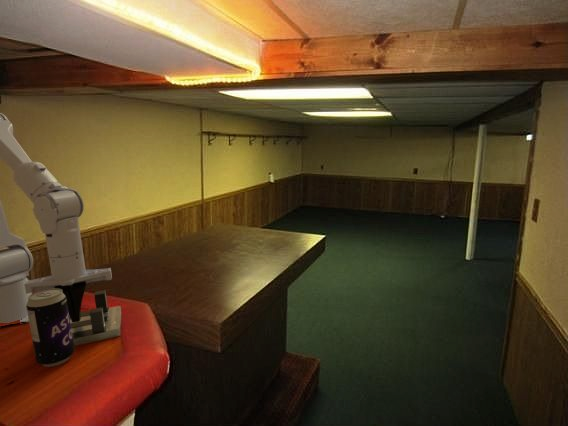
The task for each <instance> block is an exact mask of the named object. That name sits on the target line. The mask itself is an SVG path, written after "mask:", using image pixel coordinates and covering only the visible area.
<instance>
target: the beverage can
mask: <svg viewBox="0 0 568 426" xmlns="http://www.w3.org/2000/svg"><path fill="white" fill-rule="evenodd" d="M26 307H27V313H28V318H29V322H28V323H29V327H30V334H31V339H32V345H33V346H34V347H33V351H35V352H34V356H35V361H36V363H37V364H39V365H42V366H43V367H46V368H49V367H56V366H59V365H61V364H64V363H65V362H67V361H68V360H70V358H71V356H72V355H73V354H74V352H75V346H74V343H73V337H72V330H71V324H70V318H69V312H68V306H67V299H66V296H65V295H64V294H63V292H62V289H58V288H51V289H45V290H39V291H34V292H32V294H31V295H30V296H29V297H28V302H27V305H26Z"/></svg>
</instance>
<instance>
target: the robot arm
mask: <svg viewBox="0 0 568 426" xmlns="http://www.w3.org/2000/svg"><path fill="white" fill-rule="evenodd" d="M0 159H1V161H3V162H4V163H5V164H6V165H7V166H8V167H9V168H10V169H12V171H13V176H12V179H13V182H14V183H15V184H16V185H17V186H18V188H19V189H20V190H21V191H22V192H23V193H24V194H25V195H26V197H28V199H29V200H30V201H31V203H32V204H33V208H32V212H33V215H34V217H35V219H36V220H37V222H38V224H39V227H40V231H41V233H42V234H44V235H45V239H46V240H45V241H46V243H45V244H46V248H47V254H48V255H47V256H48V261H49V267H50V273H51V275H49V276H48V275H47V276H45V277H39V278H36V279H29V278H27V277H29V276H30V274H29V272H30V271H31V270H32V269H33V266H34V257H33V255H32V252H31V250H29V248H28V246H27V243H26V241H25V239H24V238H23V237H20V236H17V235H15V234H13V233H11V232H10V227H9V225H8V221H7V219H6V214H5V211H4V208H3V204H2V201H1V200H0V249H2V248H5V249H2V250H0V323H10V322H14V321H17V320H20V322H26V323H29V318H28V313H27V307H26V305H27V302H28V297H29V296H30V295H31V294H33V293H34V292H38V291H42V290H46V289H54V288H58V289H62V292H63V294H64V295H65V296H66V299H67V306H68V312H69V315H70V318H71V320H72V323H73V322H78V321H80V319H81V312H82V304H83V303H82V302H83V299H84V295H85V294H84V293H85V291H86V288H87V284H88V283H93V282H94V283H95V282H98V281H99V282H100V281H112V279H113V276H112V268H111V267H108V268H98V269H96V268H95V269H86V264H85V262H86V261H85V256H84V251H83V242H82V236H81V235H82V234H81V229H80V222H79V218H80V217H81V216H82V215H83V213H84V202H83V199H82V197H81V195H80V194H79V192H78V190H76V189H74V188H70V187H69V188H68V187H67V186H63V185H62V184H61V183H60V182H59V181H58V180H57V179H56V177H55V176H54V175H53V174H52V173H51V172H50V171H49V170H48V169H47V166H45V165H44V164H43V163H41V162H40V161H39V162H38V161H33V160H31V158H30V157H29V155H28V154H27V153H26V151H25V150H24V148H23V147H22V146H21V145H20V144H19V142H18V141H17V139H16V138H15V136H14V127H13V123H12V122H11V121H10V120H9V119H8V117H7V116H6V115H5V114H4V113H2V112H0ZM21 319H22V320H21Z"/></svg>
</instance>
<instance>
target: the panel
mask: <svg viewBox="0 0 568 426" xmlns="http://www.w3.org/2000/svg"><path fill="white" fill-rule="evenodd" d="M93 296H94V297H93V298H94V301H95V302H94V303H95V308H92V309H89V310H86V311H81V319H80V321H78V322H73V323H72V320H71V318H70V315H69V318H70V324H71V330H72V337H73V343H74V347H75V346H79V345H84V344H89V343H93V342H99V341H103V340H109V339H111V338H116V337H120V336H121V325H122V309H121V308H122V307H121V305H117V306H112V307H111V306H110V307H109V306H108V300H107V294H106V289H104V290H97V291H95V292H94V295H93ZM33 348H34V346H33ZM33 351H34V350H33ZM34 353H35V351H34Z"/></svg>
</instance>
